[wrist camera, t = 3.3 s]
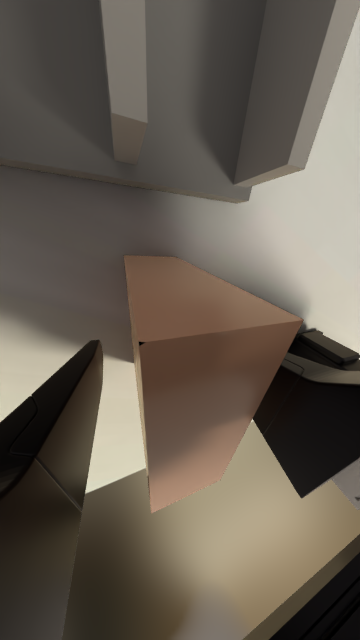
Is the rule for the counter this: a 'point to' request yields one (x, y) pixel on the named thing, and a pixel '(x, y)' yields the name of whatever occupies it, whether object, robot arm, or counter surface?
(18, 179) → the counter surface
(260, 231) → the counter surface
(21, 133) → the dish rack
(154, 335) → the tall clay brick
